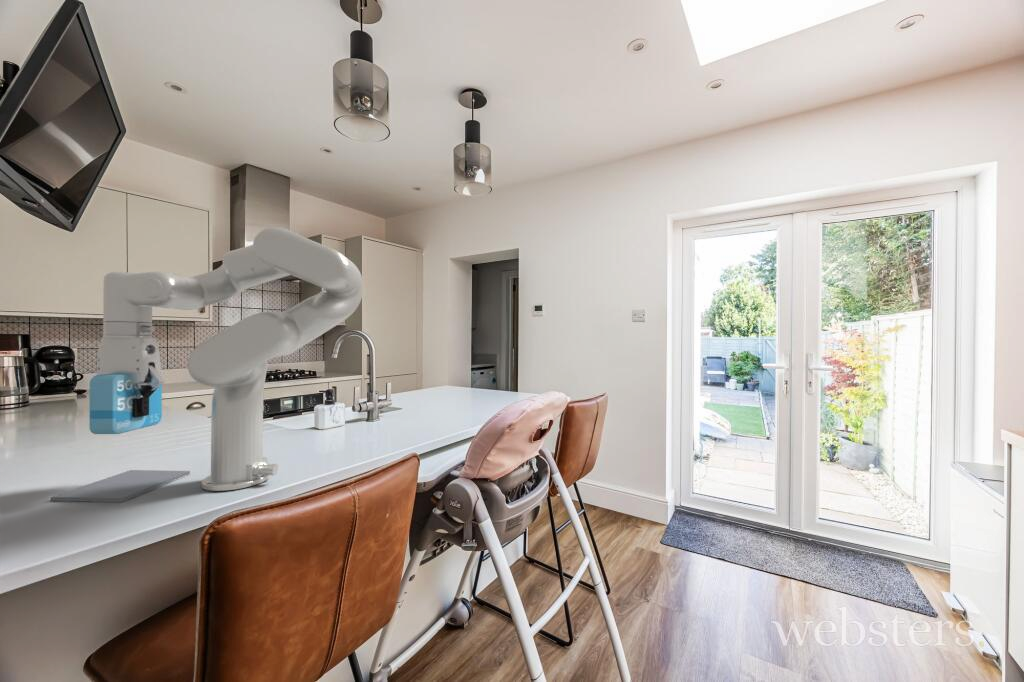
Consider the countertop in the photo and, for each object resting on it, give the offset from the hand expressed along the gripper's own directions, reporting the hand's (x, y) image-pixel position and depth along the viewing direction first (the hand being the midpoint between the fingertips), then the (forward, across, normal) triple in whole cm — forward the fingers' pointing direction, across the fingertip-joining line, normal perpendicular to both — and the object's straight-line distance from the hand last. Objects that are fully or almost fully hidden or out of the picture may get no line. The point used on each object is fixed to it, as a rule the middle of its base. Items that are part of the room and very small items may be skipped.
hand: (128, 415), depth 85 cm
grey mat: (+15, 0, 0) cm, 15 cm away
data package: (+3, 0, 0) cm, 3 cm away
